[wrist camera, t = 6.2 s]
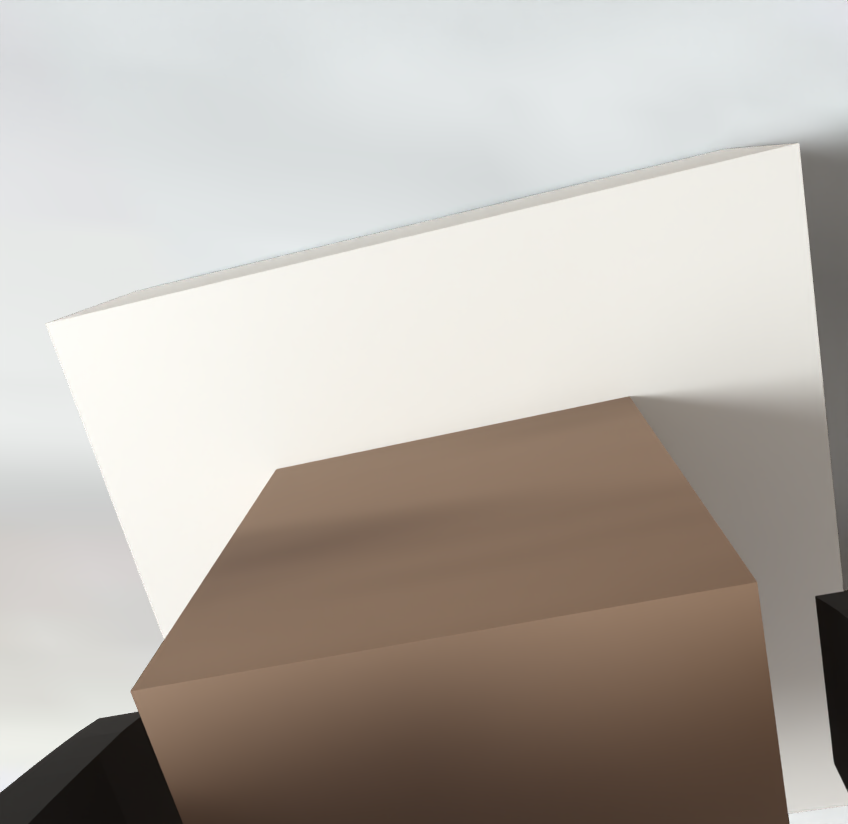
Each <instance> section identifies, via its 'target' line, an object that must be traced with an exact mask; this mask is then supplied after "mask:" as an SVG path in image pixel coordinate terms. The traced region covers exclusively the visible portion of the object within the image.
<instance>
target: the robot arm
mask: <svg viewBox="0 0 848 824" xmlns="http://www.w3.org/2000/svg"><path fill="white" fill-rule="evenodd" d="M815 600H816V609H817V618H818V627H819V636H820V645H821V654H822V663H823V672H824V681H825V690H826V698H827V707H828V716H829V725H830V734H831V743H832V752H833V761H834V765H835V767H836V769H837V771H838V773H839V775H840V777H841V779H842V781H843V783H844V785H845V788H846V790H847V792H848V590H847V591H841V592H836V593H830V594H824V595H818V596H815ZM0 824H183V822H182V820H181V817H180V815H179V812H178V810H177V807H176V805H175V802H174V800H173V797H172V795H171V792H170V790H169V787H168V784H167V782H166V779H165V777H164V774H163V772H162V769H161V767H160V764H159V762H158V759H157V757H156V754H155V752H154V749H153V747H152V744H151V742H150V739H149V737H148V734H147V732H146V729H145V727H144V724H143V722H142V719H141V717H140V714H139V712H134V713H128V714H122V715H117V716H111V717H105V718H99V719H97V720H96V721H94V722H93V723H91V724H90V725H88V726H87V727H85V728H84V729H82V730H81V731H79V732H78V733H76V734H75V735H74V736H72V737H71V738H69V739H68V740H67V741H65V742H64V743H63V744H61V745H60V746H59V747H58V748H56V749H55V750H54V751H52V752H51V753H50V754H48V755H47V756H46V757H45V758H43V759H42V760H41V761H39V762H38V763H37V764H36V765H34V766H33V767H32V768H31V769H29V770H28V771H27V772H26V773H24V774H23V775H22V776H21V777H19V778H18V779H17V780H16V781H14V782H13V783H12V784H11V785H9V786H8V787H7V788H6V789H4V790H3V791H2V792H1V793H0Z"/></svg>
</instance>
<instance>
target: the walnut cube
mask: <svg viewBox="0 0 848 824" xmlns="http://www.w3.org/2000/svg"><path fill="white" fill-rule="evenodd" d="M131 694H132V696H133V699H134V701H135V704H136V707H137V709H138V712H139V714H140V717H141V719H142V722H143V724H144V727H145V729H146V732H147V734H148V737H149V739H150V742H151V744H152V747H153V749H154V752H155V754H156V757H157V759H158V762H159V764H160V767H161V769H162V772H163V774H164V777H165V779H166V782H167V784H168V787H169V790H170V792H171V795H172V797H173V800H174V802H175V805H176V807H177V810H178V812H179V815H180V817H181V820H182V822H183V824H789V817H788V809H787V802H786V794H785V787H784V779H783V772H782V764H781V757H780V749H779V742H778V734H777V727H776V719H775V712H774V704H773V697H772V689H771V682H770V674H769V667H768V659H767V652H766V644H765V637H764V629H763V622H762V614H761V607H760V599H759V592H758V584H757V581H756V580H755V578H754V577H753V575H752V574H751V572H750V571H749V569H748V568H747V566H746V565H745V564H744V562H743V561H742V559H741V558H740V556H739V555H738V553H737V552H736V550H735V549H734V548H733V546H732V545H731V543H730V542H729V540H728V539H727V537H726V536H725V534H724V533H723V532H722V530H721V529H720V527H719V526H718V524H717V523H716V521H715V520H714V518H713V517H712V516H711V514H710V513H709V511H708V510H707V508H706V507H705V505H704V504H703V502H702V501H701V500H700V498H699V497H698V495H697V494H696V492H695V491H694V489H693V488H692V487H691V485H690V484H689V482H688V481H687V479H686V478H685V476H684V475H683V473H682V472H681V471H680V469H679V468H678V466H677V465H676V463H675V462H674V460H673V459H672V457H671V456H670V455H669V453H668V452H667V450H666V449H665V447H664V446H663V444H662V443H661V441H660V440H659V439H658V437H657V436H656V434H655V433H654V431H653V430H652V428H651V427H650V425H649V424H648V423H647V421H646V420H645V418H644V417H643V415H642V414H641V412H640V411H639V410H638V408H637V407H636V405H635V404H634V402H633V401H632V399H631V398H630V396H628V397H623V398H618V399H613V400H608V401H604V402H599V403H594V404H589V405H584V406H579V407H575V408H570V409H565V410H560V411H555V412H550V413H546V414H541V415H536V416H531V417H526V418H521V419H517V420H512V421H507V422H502V423H497V424H492V425H487V426H483V427H478V428H473V429H468V430H463V431H458V432H454V433H449V434H444V435H439V436H434V437H429V438H425V439H420V440H415V441H410V442H405V443H400V444H396V445H391V446H386V447H381V448H376V449H371V450H367V451H362V452H357V453H352V454H347V455H342V456H337V457H333V458H328V459H323V460H318V461H313V462H308V463H304V464H299V465H294V466H289V467H284V468H279V469H276V470H275V472H274V473H273V475H272V476H271V478H270V479H269V481H268V482H267V484H266V485H265V487H264V488H263V490H262V491H261V493H260V495H259V496H258V498H257V499H256V501H255V502H254V504H253V505H252V507H251V508H250V510H249V511H248V513H247V514H246V516H245V517H244V519H243V520H242V522H241V524H240V525H239V527H238V528H237V530H236V531H235V533H234V534H233V536H232V537H231V539H230V540H229V542H228V543H227V545H226V546H225V548H224V549H223V551H222V552H221V554H220V556H219V557H218V559H217V560H216V562H215V563H214V565H213V566H212V568H211V569H210V571H209V572H208V574H207V575H206V577H205V578H204V580H203V581H202V583H201V584H200V586H199V588H198V589H197V591H196V592H195V594H194V595H193V597H192V598H191V600H190V601H189V603H188V604H187V606H186V607H185V609H184V610H183V612H182V613H181V615H180V616H179V618H178V620H177V621H176V623H175V624H174V626H173V627H172V629H171V630H170V632H169V633H168V635H167V636H166V638H165V639H164V641H163V642H162V644H161V645H160V647H159V648H158V650H157V652H156V653H155V655H154V656H153V658H152V659H151V661H150V662H149V664H148V665H147V667H146V668H145V670H144V671H143V673H142V674H141V676H140V677H139V679H138V680H137V682H136V684H135V685H134V687H133V688H132V690H131Z"/></svg>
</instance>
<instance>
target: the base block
mask: <svg viewBox="0 0 848 824" xmlns="http://www.w3.org/2000/svg"><path fill="white" fill-rule="evenodd" d="M46 327H47V330H48V332H49V335H50V338H51V340H52V343H53V346H54V348H55V351H56V354H57V356H58V359H59V362H60V364H61V367H62V370H63V372H64V375H65V378H66V380H67V383H68V386H69V388H70V391H71V394H72V396H73V399H74V402H75V404H76V407H77V410H78V412H79V415H80V417H81V420H82V423H83V425H84V428H85V431H86V433H87V436H88V439H89V441H90V444H91V447H92V449H93V452H94V455H95V457H96V460H97V463H98V465H99V468H100V471H101V473H102V476H103V479H104V481H105V484H106V487H107V489H108V492H109V495H110V497H111V500H112V503H113V505H114V508H115V511H116V513H117V516H118V519H119V521H120V524H121V527H122V529H123V532H124V535H125V537H126V540H127V543H128V545H129V548H130V551H131V553H132V556H133V559H134V561H135V564H136V566H137V569H138V572H139V574H140V577H141V580H142V582H143V585H144V588H145V590H146V593H147V596H148V598H149V601H150V604H151V606H152V609H153V612H154V614H155V617H156V620H157V622H158V625H159V628H160V630H161V633H162V636H163V638H164V639H165V638H166V636H167V635H168V633H169V632H170V630H171V629H172V627H173V626H174V624H175V623H176V621H177V620H178V618H179V616H180V615H181V613H182V612H183V610H184V609H185V607H186V606H187V604H188V603H189V601H190V600H191V598H192V597H193V595H194V594H195V592H196V591H197V589H198V588H199V586H200V584H201V583H202V581H203V580H204V578H205V577H206V575H207V574H208V572H209V571H210V569H211V568H212V566H213V565H214V563H215V562H216V560H217V559H218V557H219V556H220V554H221V552H222V551H223V549H224V548H225V546H226V545H227V543H228V542H229V540H230V539H231V537H232V536H233V534H234V533H235V531H236V530H237V528H238V527H239V525H240V524H241V522H242V520H243V519H244V517H245V516H246V514H247V513H248V511H249V510H250V508H251V507H252V505H253V504H254V502H255V501H256V499H257V498H258V496H259V495H260V493H261V491H262V490H263V488H264V487H265V485H266V484H267V482H268V481H269V479H270V478H271V476H272V475H273V473H274V472H275V470H276V469H279V468H284V467H289V466H294V465H299V464H304V463H308V462H313V461H318V460H323V459H328V458H333V457H337V456H342V455H347V454H352V453H357V452H362V451H367V450H371V449H376V448H381V447H386V446H391V445H396V444H400V443H405V442H410V441H415V440H420V439H425V438H429V437H434V436H439V435H444V434H449V433H454V432H458V431H463V430H468V429H473V428H478V427H483V426H487V425H492V424H497V423H502V422H507V421H512V420H517V419H521V418H526V417H531V416H536V415H541V414H546V413H550V412H555V411H560V410H565V409H570V408H575V407H579V406H584V405H589V404H594V403H599V402H604V401H608V400H613V399H618V398H623V397H628V396H630V398H631V399H632V401H633V402H634V404H635V405H636V407H637V408H638V410H639V411H640V412H641V414H642V415H643V417H644V418H645V420H646V421H647V423H648V424H649V425H650V427H651V428H652V430H653V431H654V433H655V434H656V436H657V437H658V439H659V440H660V441H661V443H662V444H663V446H664V447H665V449H666V450H667V452H668V453H669V455H670V456H671V457H672V459H673V460H674V462H675V463H676V465H677V466H678V468H679V469H680V471H681V472H682V473H683V475H684V476H685V478H686V479H687V481H688V482H689V484H690V485H691V487H692V488H693V489H694V491H695V492H696V494H697V495H698V497H699V498H700V500H701V501H702V502H703V504H704V505H705V507H706V508H707V510H708V511H709V513H710V514H711V516H712V517H713V518H714V520H715V521H716V523H717V524H718V526H719V527H720V529H721V530H722V532H723V533H724V534H725V536H726V537H727V539H728V540H729V542H730V543H731V545H732V546H733V548H734V549H735V550H736V552H737V553H738V555H739V556H740V558H741V559H742V561H743V562H744V564H745V565H746V566H747V568H748V569H749V571H750V572H751V574H752V575H753V577H754V578H755V580H756V581H757V584H758V592H759V599H760V607H761V614H762V622H763V629H764V637H765V644H766V652H767V659H768V667H769V674H770V682H771V689H772V697H773V704H774V712H775V719H776V727H777V734H778V742H779V749H780V757H781V764H782V772H783V779H784V787H785V794H786V802H787V809H788V814H791V813H798V812H806V811H813V810H820V809H827V808H835V807H842V806H848V792H847V790H846V788H845V785H844V783H843V781H842V779H841V777H840V775H839V773H838V771H837V769H836V767H835V765H834V761H833V752H832V743H831V734H830V725H829V716H828V707H827V698H826V690H825V681H824V672H823V663H822V654H821V645H820V636H819V627H818V618H817V609H816V600H815V596H818V595H824V594H830V593H836V592H841V591H844V589H843V579H842V569H841V559H840V549H839V538H838V528H837V518H836V508H835V498H834V488H833V478H832V468H831V458H830V448H829V438H828V428H827V418H826V408H825V398H824V388H823V378H822V367H821V357H820V347H819V337H818V327H817V317H816V307H815V297H814V287H813V277H812V267H811V257H810V247H809V237H808V227H807V217H806V207H805V196H804V186H803V176H802V166H801V156H800V146H799V143H793V144H781V145H768V146H756V147H743V148H731V149H722V150H718V151H714V152H710V153H706V154H701V155H697V156H693V157H689V158H685V159H681V160H677V161H672V162H668V163H664V164H660V165H656V166H652V167H648V168H643V169H639V170H635V171H631V172H627V173H623V174H619V175H614V176H610V177H606V178H602V179H598V180H594V181H590V182H585V183H581V184H577V185H573V186H569V187H565V188H561V189H557V190H552V191H548V192H544V193H540V194H536V195H532V196H528V197H523V198H519V199H515V200H511V201H507V202H503V203H499V204H494V205H490V206H486V207H482V208H478V209H474V210H470V211H465V212H461V213H457V214H453V215H449V216H445V217H441V218H436V219H432V220H428V221H424V222H420V223H416V224H412V225H408V226H403V227H399V228H395V229H391V230H387V231H383V232H379V233H374V234H370V235H366V236H362V237H358V238H354V239H350V240H345V241H341V242H337V243H333V244H329V245H325V246H321V247H316V248H312V249H308V250H304V251H300V252H296V253H292V254H287V255H283V256H279V257H275V258H271V259H267V260H263V261H258V262H254V263H250V264H246V265H242V266H238V267H234V268H230V269H225V270H221V271H217V272H213V273H209V274H205V275H201V276H196V277H192V278H188V279H184V280H180V281H176V282H172V283H167V284H163V285H159V286H155V287H151V288H147V289H143V290H138V291H135V292H132V293H129V294H126V295H123V296H121V297H118V298H115V299H112V300H110V301H107V302H104V303H101V304H99V305H96V306H93V307H90V308H88V309H85V310H82V311H79V312H76V313H74V314H71V315H68V316H65V317H63V318H60V319H57V320H54V321H52V322H49V323H46Z"/></svg>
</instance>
